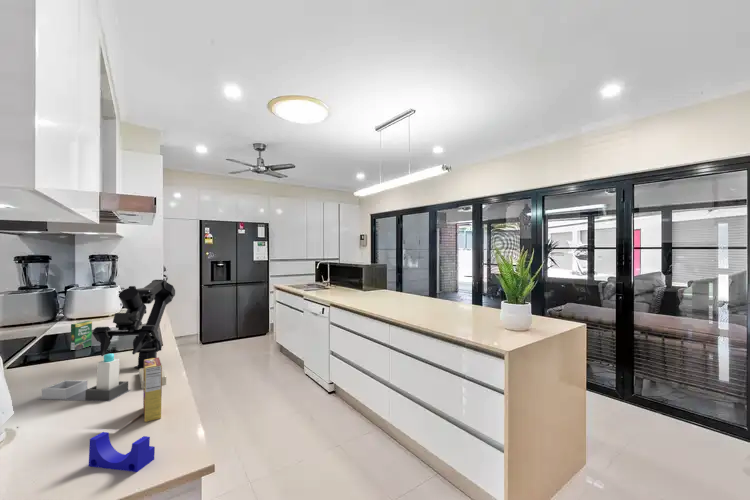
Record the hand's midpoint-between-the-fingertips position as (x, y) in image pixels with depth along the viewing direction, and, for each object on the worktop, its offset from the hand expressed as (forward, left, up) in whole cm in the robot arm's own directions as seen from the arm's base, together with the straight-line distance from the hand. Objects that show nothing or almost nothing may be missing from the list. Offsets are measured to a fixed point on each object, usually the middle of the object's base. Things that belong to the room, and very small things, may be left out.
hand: (117, 354), depth 111 cm
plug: (+6, +2, -11) cm, 13 cm away
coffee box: (-47, -56, -12) cm, 74 cm away
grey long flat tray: (+6, -5, -12) cm, 14 cm away
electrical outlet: (-9, +6, -13) cm, 17 cm away
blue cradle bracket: (+38, +33, -13) cm, 52 cm away
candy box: (+16, +24, -12) cm, 31 cm away
